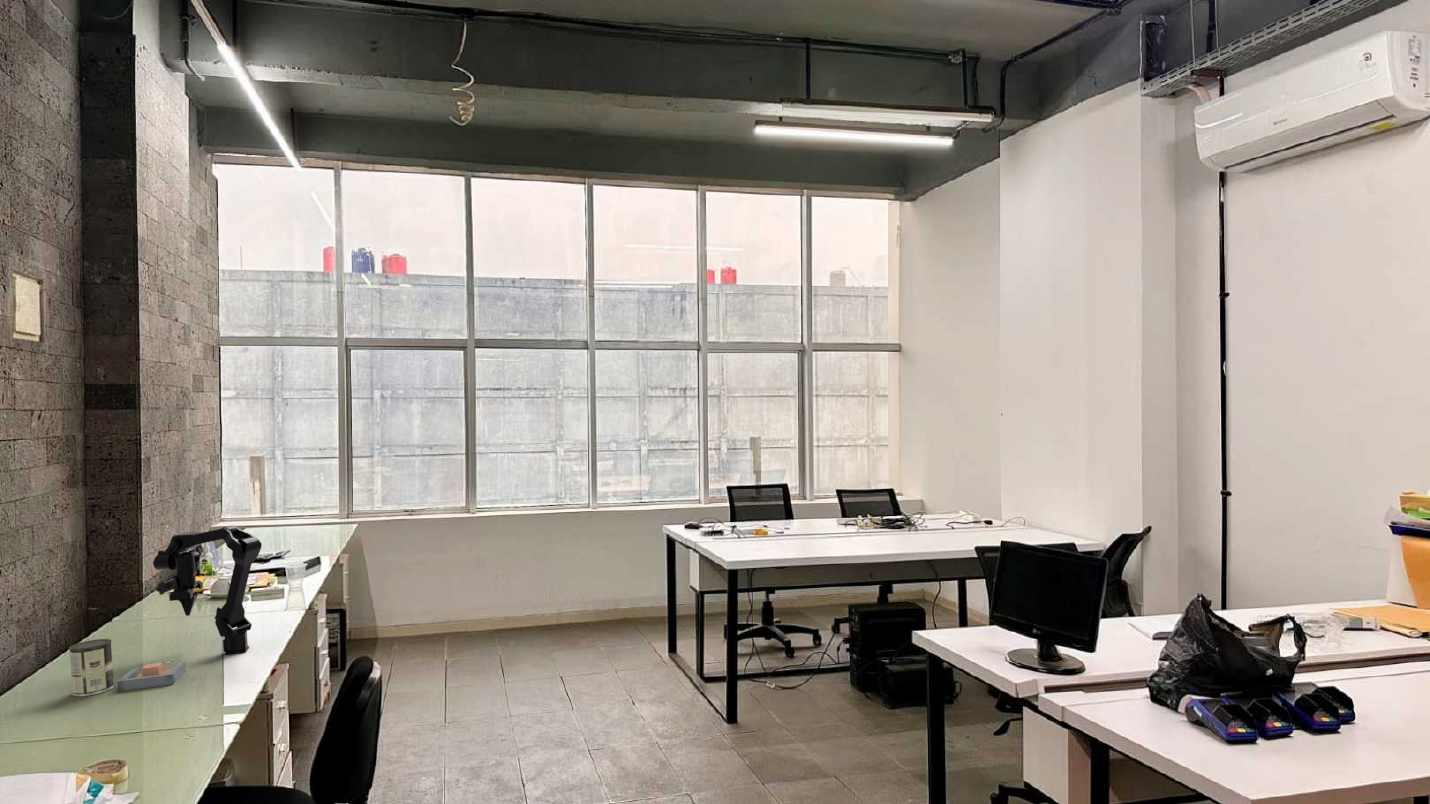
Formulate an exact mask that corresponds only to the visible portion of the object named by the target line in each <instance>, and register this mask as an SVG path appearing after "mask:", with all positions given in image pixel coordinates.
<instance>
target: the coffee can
mask: <svg viewBox="0 0 1430 804" xmlns="http://www.w3.org/2000/svg"><path fill="white" fill-rule="evenodd" d="M68 651H69V659H70V660H69V662H70V671H71V685H72V686H71V688H72V696H74V697H88V696H93V695H98V694H102V693H105V692H107V691H110V690H113V689H114V687H115V682H114V670H113V669H114V667H113V654H112V639H110V638H97V639H92V640H87V641H81V642H78V643H75V644H73V645H70V646H68Z"/></svg>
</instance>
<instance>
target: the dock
mask: <svg viewBox="0 0 1430 804" xmlns="http://www.w3.org/2000/svg"><path fill="white" fill-rule="evenodd" d="M186 664H187V663H186V661H180V662H178V663H177V664H176V665H175V666H174V667H173V668H171V669H172V670H171V671H170V672H169V673H168V674H161V675H153V676H145V677H138V678H136V677H137V676H138V675H139V674H140V673H141V672H140V671H141V670H140V667H139V666H138V667H133V668H131V670H130V671H128V672H127V673H125V674H124V675H123V676H122V677H120V679H119V680H117V689H118V690H117V691H118V692H124V691H131V690H133V691H134V690H141V689H148V688H154V687H162V686H163V687H164V686H171V685H174V684H175V683H176V682H177V681H178V680H179V679H180V678H181V677H182V676H183V675H184V674H185V673H186V671H187V668H186V667H187V666H186Z"/></svg>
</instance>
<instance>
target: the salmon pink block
mask: <svg viewBox="0 0 1430 804" xmlns="http://www.w3.org/2000/svg"><path fill="white" fill-rule="evenodd" d="M163 670H164V661H163V662H156V663H146V664H145V665H144V666H143V667H142V668H141V672H142V677H145V676H153V675H161V674H162V673H163Z"/></svg>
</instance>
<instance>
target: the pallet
mask: <svg viewBox="0 0 1430 804" xmlns="http://www.w3.org/2000/svg"><path fill="white" fill-rule="evenodd" d="M172 669H173V668H166V669H163V673H162V674H168V673H169V672H170V671H171V670H172ZM138 677H142V671H141V672H140V674H139V675H138V676H137V677H136V678H138Z"/></svg>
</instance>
